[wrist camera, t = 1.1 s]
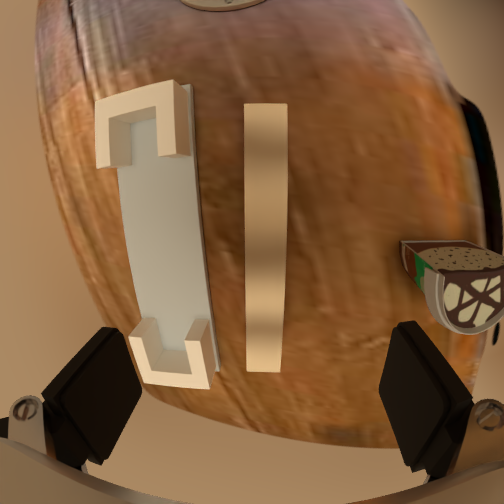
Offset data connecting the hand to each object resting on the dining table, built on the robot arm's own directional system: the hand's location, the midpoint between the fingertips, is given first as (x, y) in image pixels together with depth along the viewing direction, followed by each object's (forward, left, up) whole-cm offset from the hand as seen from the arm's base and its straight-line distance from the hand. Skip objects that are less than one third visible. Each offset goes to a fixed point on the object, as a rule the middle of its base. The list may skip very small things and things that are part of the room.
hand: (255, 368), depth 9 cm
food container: (+4, +18, -18) cm, 26 cm away
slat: (0, 0, -18) cm, 18 cm away
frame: (0, -10, -18) cm, 21 cm away
